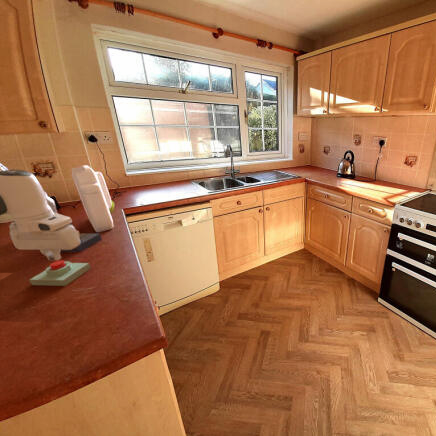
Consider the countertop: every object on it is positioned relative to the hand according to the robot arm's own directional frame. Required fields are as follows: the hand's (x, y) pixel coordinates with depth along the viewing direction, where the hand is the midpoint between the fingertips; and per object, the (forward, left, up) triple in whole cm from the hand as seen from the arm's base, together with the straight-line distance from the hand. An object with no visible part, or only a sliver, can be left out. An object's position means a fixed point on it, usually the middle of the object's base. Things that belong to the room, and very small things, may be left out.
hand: (55, 259), depth 82 cm
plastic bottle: (-40, +36, -7) cm, 54 cm away
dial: (-16, +22, -4) cm, 28 cm away
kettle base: (0, 0, -7) cm, 7 cm away
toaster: (-21, +44, -7) cm, 49 cm away
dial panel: (-16, +22, -7) cm, 28 cm away
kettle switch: (0, 0, -3) cm, 3 cm away
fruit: (-32, +58, -7) cm, 67 cm away
